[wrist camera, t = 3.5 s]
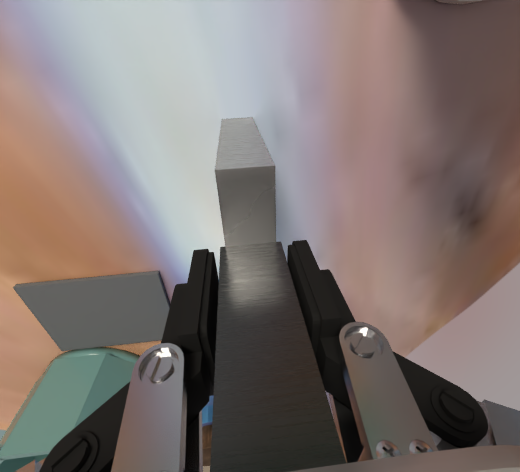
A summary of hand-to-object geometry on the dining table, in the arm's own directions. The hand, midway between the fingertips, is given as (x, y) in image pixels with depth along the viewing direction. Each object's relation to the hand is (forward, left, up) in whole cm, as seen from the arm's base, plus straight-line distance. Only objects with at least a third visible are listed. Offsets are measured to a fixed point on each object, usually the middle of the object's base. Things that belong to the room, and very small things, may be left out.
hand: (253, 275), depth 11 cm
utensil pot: (+18, +23, -10) cm, 31 cm away
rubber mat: (+14, +12, -10) cm, 21 cm away
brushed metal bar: (0, 0, -10) cm, 10 cm away
